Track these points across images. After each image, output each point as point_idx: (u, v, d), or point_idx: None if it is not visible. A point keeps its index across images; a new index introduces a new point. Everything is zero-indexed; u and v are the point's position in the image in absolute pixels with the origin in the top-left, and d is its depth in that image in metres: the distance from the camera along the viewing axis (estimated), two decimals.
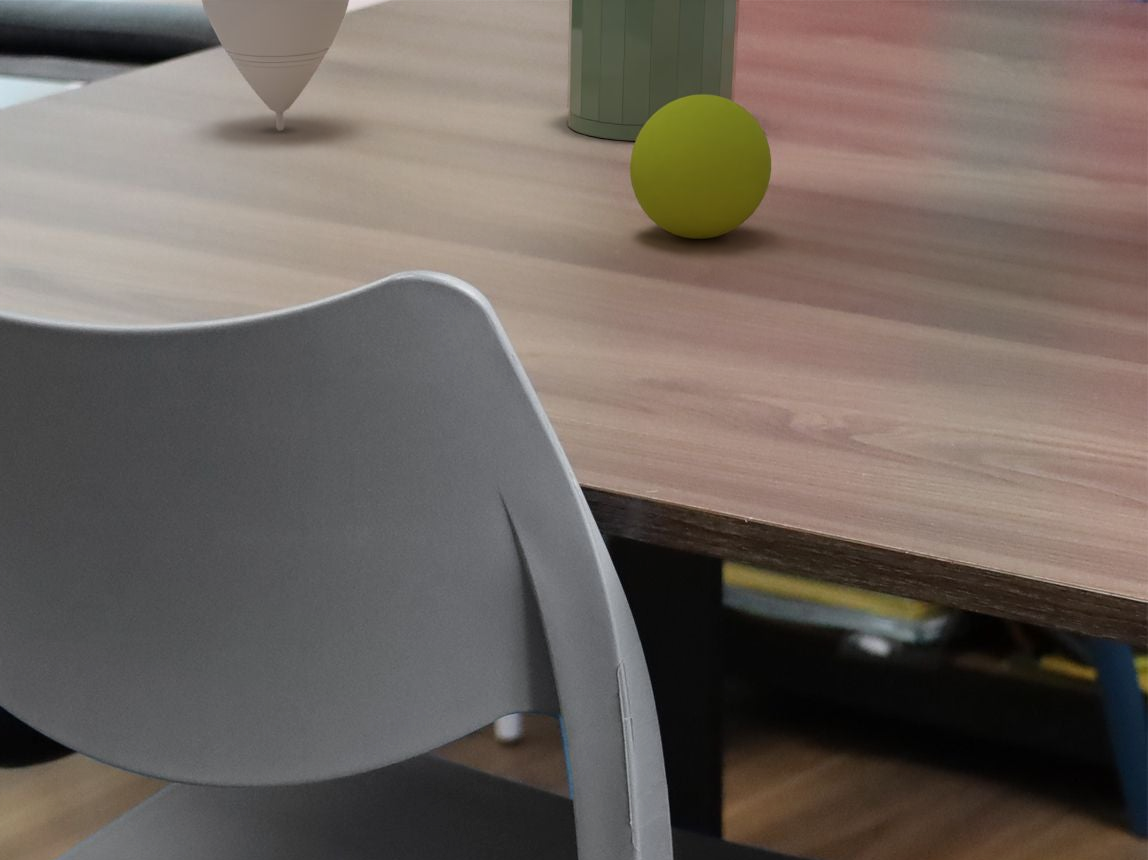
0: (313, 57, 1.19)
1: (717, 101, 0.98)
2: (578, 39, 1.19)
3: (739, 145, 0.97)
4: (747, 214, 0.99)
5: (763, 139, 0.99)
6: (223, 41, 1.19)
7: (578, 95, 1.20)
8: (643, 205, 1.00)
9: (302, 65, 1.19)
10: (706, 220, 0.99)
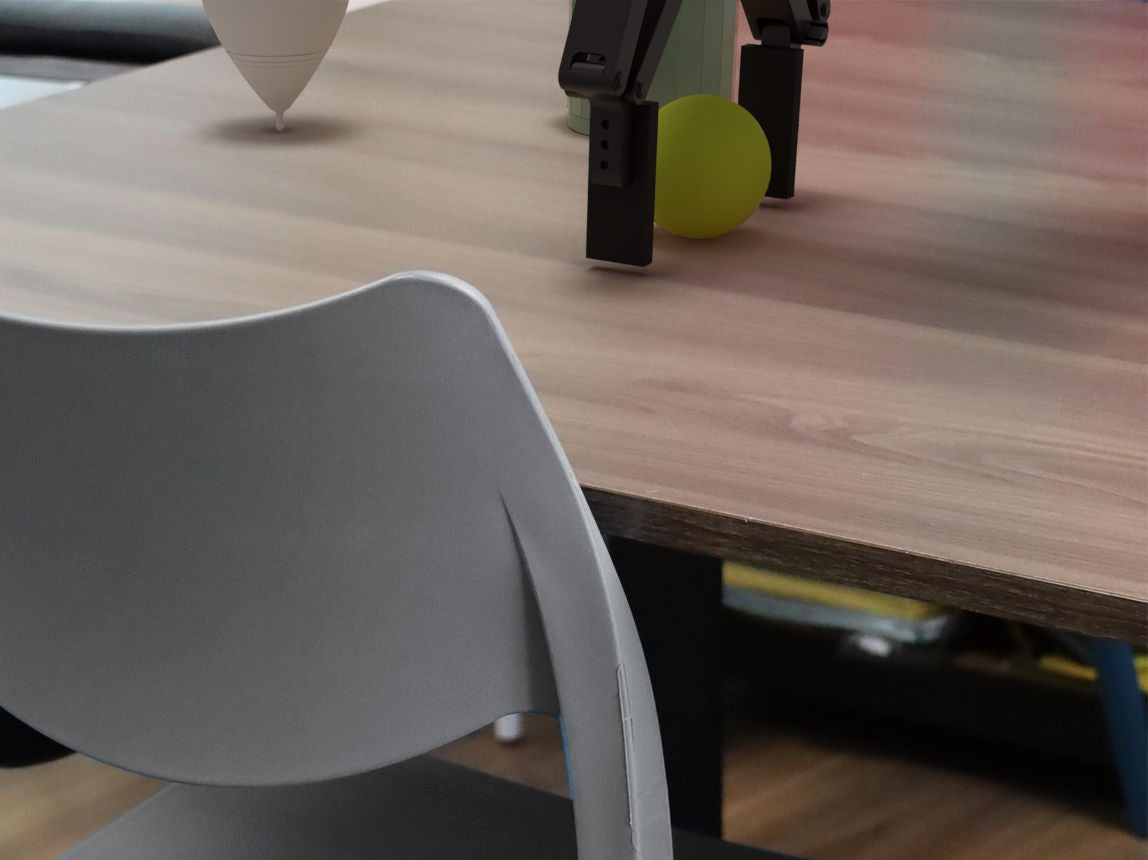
0: (313, 57, 1.19)
1: (717, 101, 0.98)
2: None
3: (739, 145, 0.97)
4: (747, 214, 0.99)
5: (763, 139, 0.99)
6: (223, 41, 1.19)
7: None
8: None
9: (302, 65, 1.19)
10: (706, 220, 0.99)
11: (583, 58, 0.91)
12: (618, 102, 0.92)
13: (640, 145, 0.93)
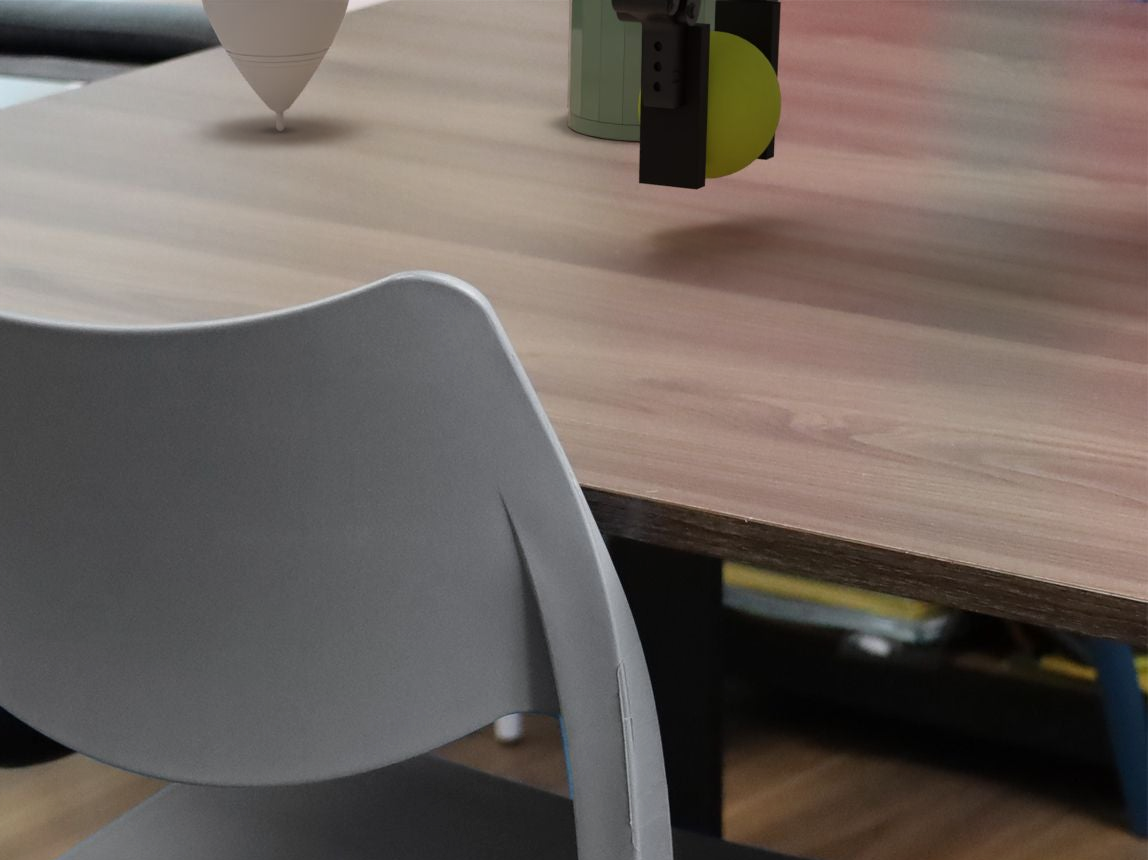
0: (313, 57, 1.19)
1: (725, 37, 0.97)
2: (578, 39, 1.19)
3: (749, 81, 0.96)
4: (757, 152, 0.98)
5: (773, 75, 0.97)
6: (223, 41, 1.19)
7: (578, 95, 1.20)
8: None
9: (302, 65, 1.19)
10: (716, 158, 0.97)
11: None
12: (671, 23, 0.93)
13: (692, 67, 0.95)
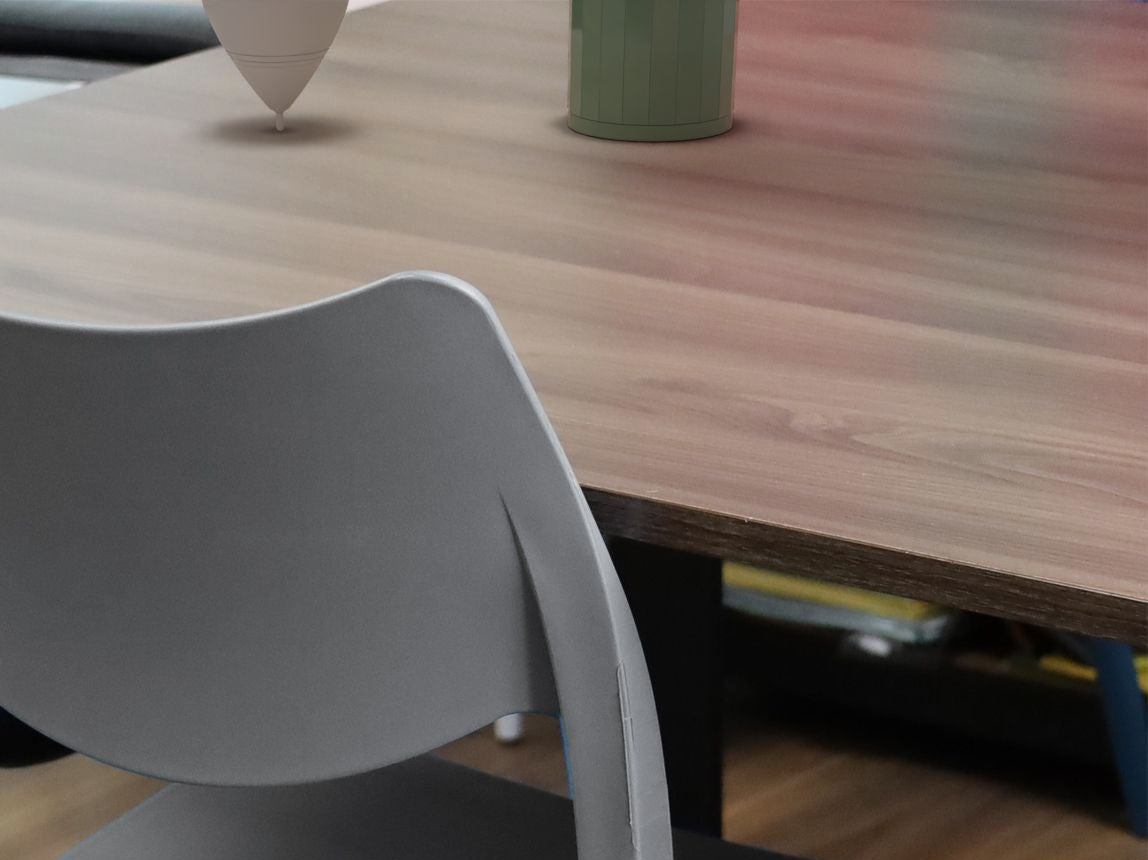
0: (313, 57, 1.19)
1: None
2: (578, 39, 1.19)
3: None
4: None
5: None
6: (223, 41, 1.19)
7: (578, 95, 1.20)
8: None
9: (302, 65, 1.19)
10: None
11: None
12: None
13: None
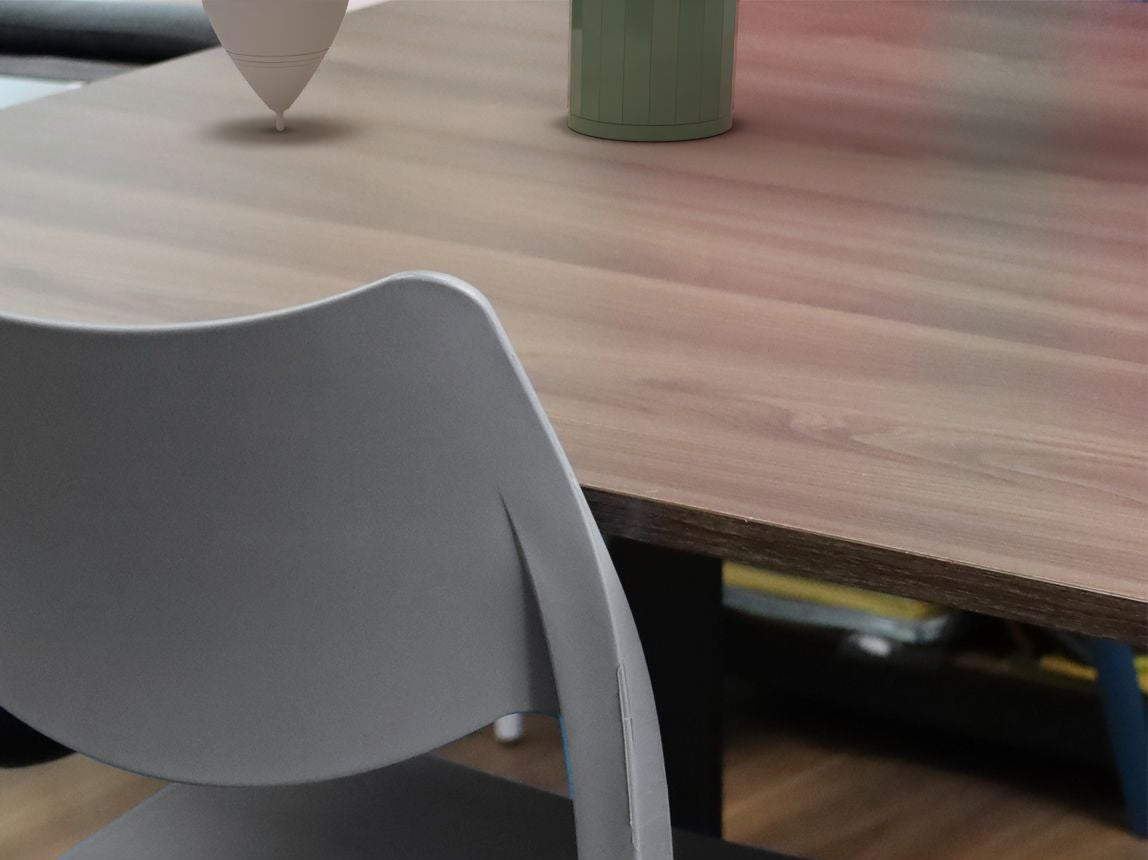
0: (313, 57, 1.19)
1: None
2: (578, 39, 1.19)
3: None
4: None
5: None
6: (223, 41, 1.19)
7: (578, 95, 1.20)
8: None
9: (302, 65, 1.19)
10: None
11: None
12: None
13: None
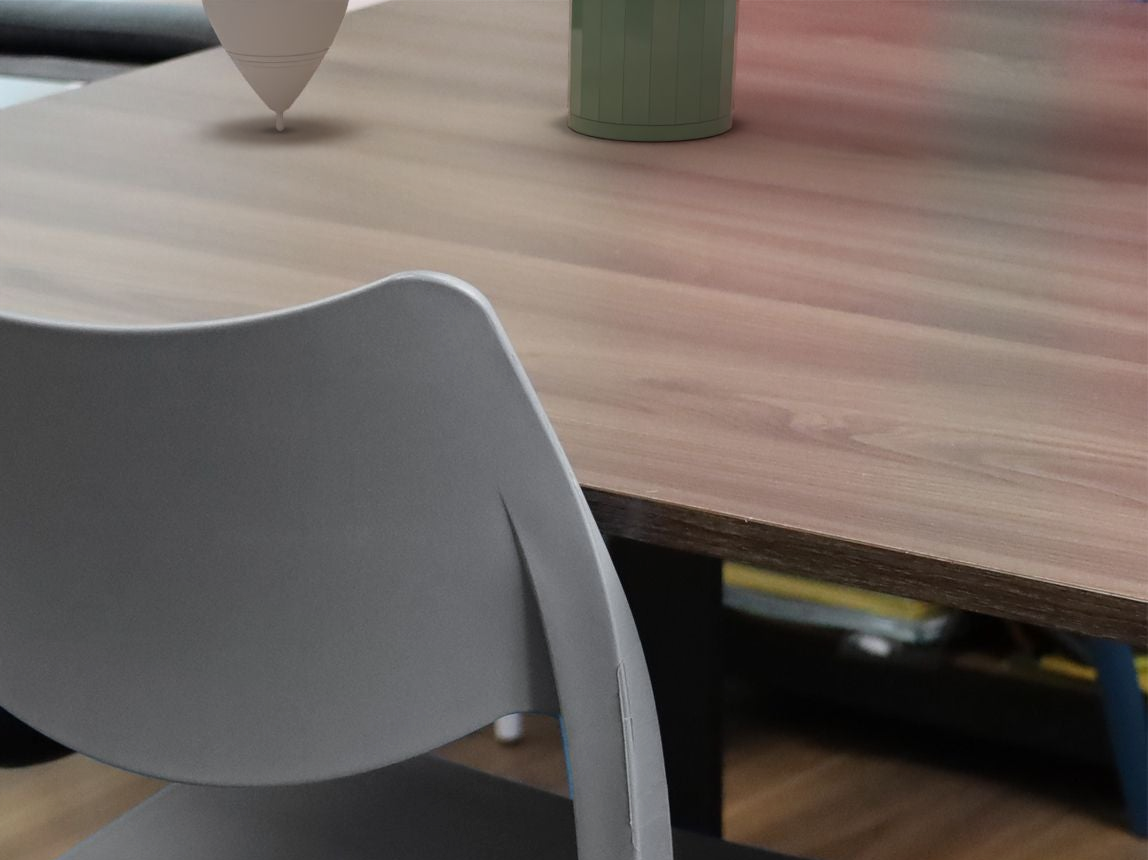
0: (313, 57, 1.19)
1: None
2: (578, 39, 1.19)
3: None
4: None
5: None
6: (223, 41, 1.19)
7: (578, 95, 1.20)
8: None
9: (302, 65, 1.19)
10: None
11: None
12: None
13: None
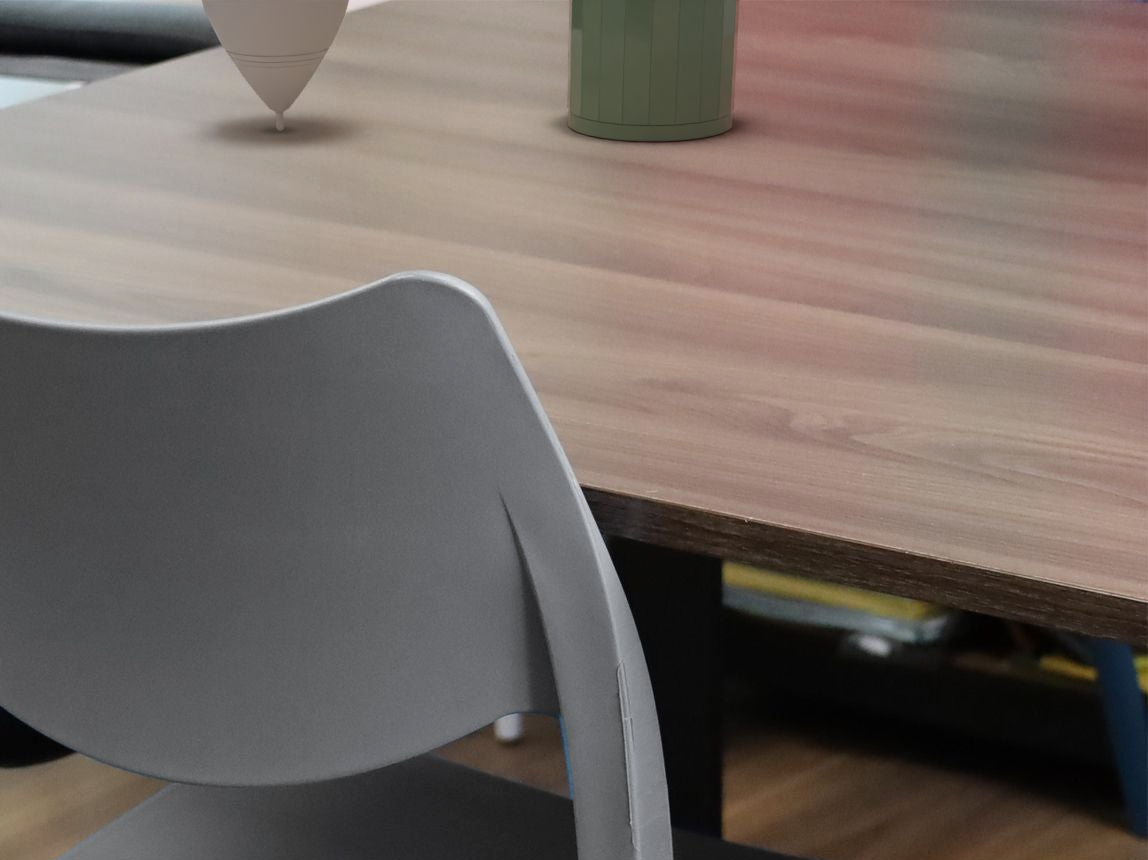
0: (313, 57, 1.19)
1: None
2: (578, 39, 1.19)
3: None
4: None
5: None
6: (223, 41, 1.19)
7: (578, 95, 1.20)
8: None
9: (302, 65, 1.19)
10: None
11: None
12: None
13: None
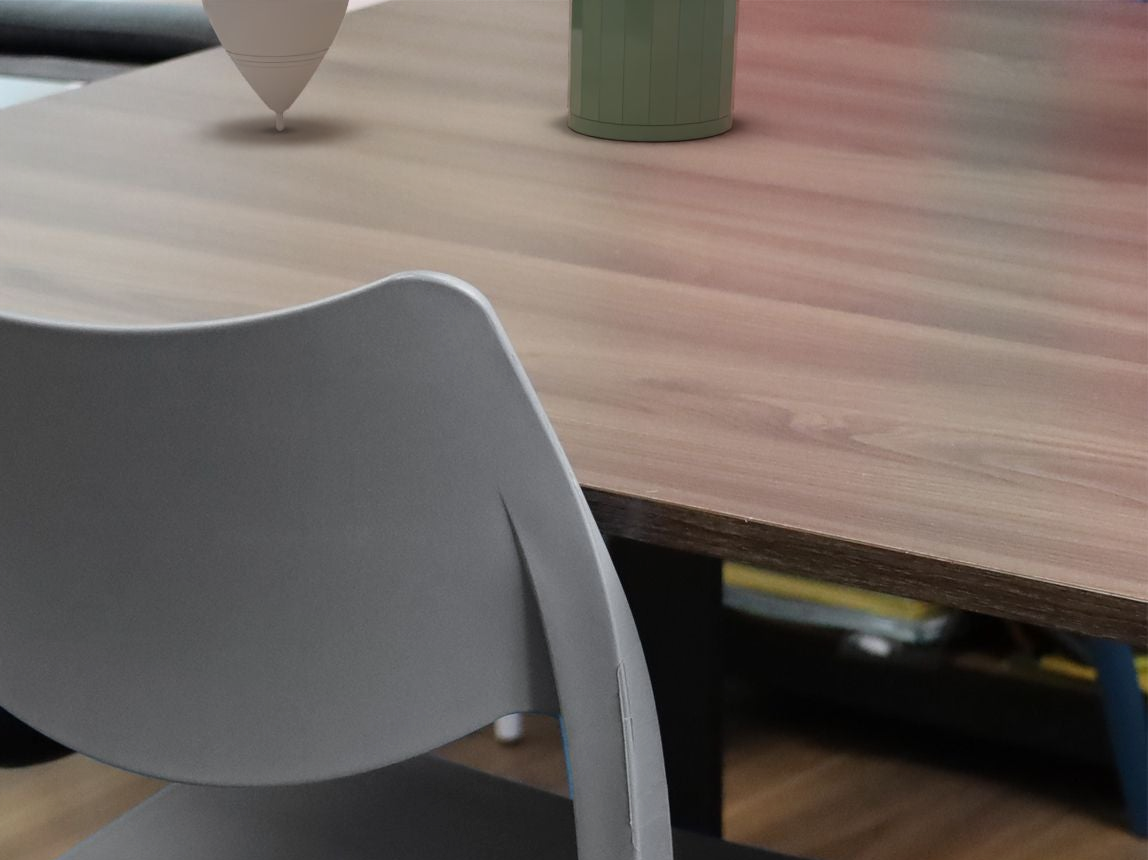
0: (313, 57, 1.19)
1: None
2: (578, 39, 1.19)
3: None
4: None
5: None
6: (223, 41, 1.19)
7: (578, 95, 1.20)
8: None
9: (302, 65, 1.19)
10: None
11: None
12: None
13: None
